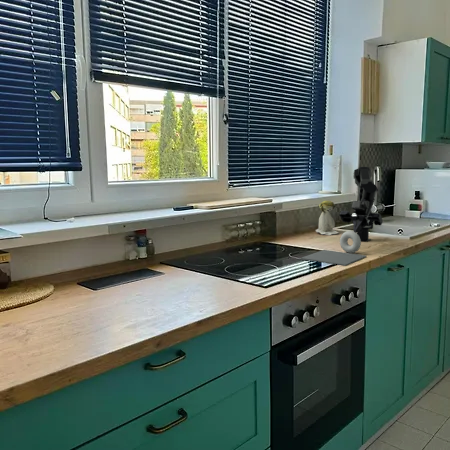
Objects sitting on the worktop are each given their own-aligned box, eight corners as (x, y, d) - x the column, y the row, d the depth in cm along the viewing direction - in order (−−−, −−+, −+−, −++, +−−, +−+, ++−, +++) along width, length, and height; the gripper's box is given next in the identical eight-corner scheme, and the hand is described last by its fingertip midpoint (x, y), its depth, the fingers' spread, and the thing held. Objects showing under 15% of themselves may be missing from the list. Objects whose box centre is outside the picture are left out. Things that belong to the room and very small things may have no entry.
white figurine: (319, 235, 241) (320, 202, 238) (312, 231, 254) (313, 199, 251) (341, 235, 242) (341, 201, 239) (333, 231, 255) (334, 199, 252)
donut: (362, 254, 196) (362, 231, 194) (357, 255, 194) (358, 232, 192) (342, 250, 203) (342, 229, 202) (337, 251, 201) (338, 230, 199)
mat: (324, 250, 203) (324, 249, 203) (366, 256, 190) (366, 255, 190) (301, 258, 188) (301, 257, 188) (345, 265, 175) (345, 264, 175)
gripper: (341, 193, 207) (329, 219, 201) (381, 195, 195) (369, 223, 189) (348, 208, 214) (337, 234, 208) (387, 211, 202) (376, 238, 196)
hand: (354, 232), depth 200 cm, fingers closed
